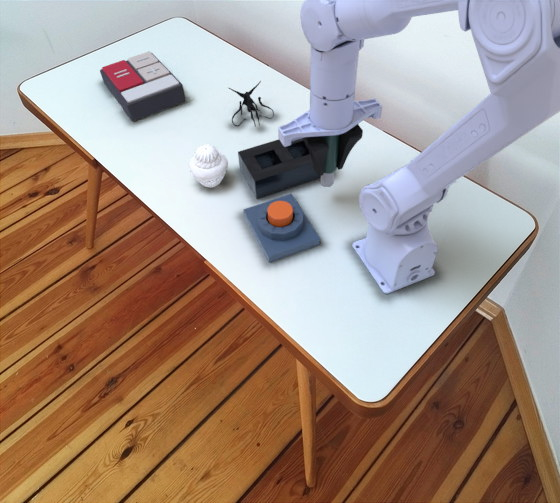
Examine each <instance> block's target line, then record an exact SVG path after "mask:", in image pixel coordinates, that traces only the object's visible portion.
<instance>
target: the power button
mask: <svg viewBox="0 0 560 503" xmlns="http://www.w3.org/2000/svg"><path fill="white" fill-rule="evenodd" d="M267 211H268V221H269V222H270V224H271V225H273V226H275V227H285V226H287V225H289V224H290V223H291V222H292V220H293V208H292V206H291V205H290V204H289V203H288V202H285V201H276V202H273V203H272V204H270V205H269V207H268V210H267Z"/></svg>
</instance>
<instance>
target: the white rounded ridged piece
mask: <svg viewBox="0 0 560 503" xmlns="http://www.w3.org/2000/svg"><path fill="white" fill-rule="evenodd" d="M228 167H229V161H228V158H227V157H226V156H225V153H222V152H221V151H218V149H217V147H216V146H214V145H211V144H202V145H201V146H198V148H196V150H195V152H194V155H192V157H191V158H190V160H189V162H188V169H189V172H190V174H191V175H192V176H193V178H194V179H195V180H196V181H197V182H198V183H200V184H201V185H202V186H203V187H205V188H209V189H210V188H211V189H212V188H216V187H217V186H219V185H220V184H222V183H221V182H222V181H223V180H224V177H225V176H226V174H227V171H228Z"/></svg>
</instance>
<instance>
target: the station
mask: <svg viewBox="0 0 560 503" xmlns="http://www.w3.org/2000/svg"><path fill="white" fill-rule="evenodd" d="M276 201H285V202H288V203H289V204H290V205H291V206H292V208H293V220H292V222H291V223H290V224H289V225H287V226H285V227H275V226H273V225H271V224H270V222H269V221H268V211H267V210H268V207H269V205H270V204H272V203H273V202H276ZM242 210H243V217H244V219H245V221H246V222H247V224H248V226H249V228H250V230H251V231H252V233H253V235H254V237H255V239H256V241H257V243H258V245H259V247H260V249H261V250H262V252H263V254H264V257H265V258H266V260H267V262H268V263H273V262H275V261H278V260H281V259H285V258H287V257H290V256H292V255H295V254H298V253H300V252H303V251H305V250H308V249H311V248H315V247H317V246H320V244H321V243H320V242H321V238H320V236H319V235H318V233H317V232H316V230H315V228H314V227H313V225H312V224H311V222H310V221H309V219H308V217H307V216H306V214H305V213H304V211H303V209H302V208H301V206H300V205H299V203H298V201H297V200H296V199H295V197H294V195H293V193H289V194H286V195H282V196H280V197H277V198H274V199H271V200H268V201H265V202H262V203H259V204H255V205H253V206H249V207H246V208H244V209H242Z"/></svg>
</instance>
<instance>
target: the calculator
mask: <svg viewBox="0 0 560 503" xmlns="http://www.w3.org/2000/svg"><path fill="white" fill-rule="evenodd" d="M99 73H100V77H101V79H102V82H103V85H105V87H106V88H107V89H108V91H109V92H110V94H111V95H112V96H113V97H114V99H115V100H116V102H117V103H118V104H119V106H121V108H122V110H123V112H124V113H125V114H126V116H127V117H128V118H129V120H130V121H131V122H136V121H139V120H141V119H144V118H147V117H149V116H151V115H155V114H157V113H159V112H163V111H165V110H168V109H170V108H173V107H176V106H178V105H181V104H183V103H185V102H187V99H186V94H185V90H184V86H183V85H184V84H183V83H182V82H181V81H180V80H179V79H178V78H177V76H175V75H174V74H173V73H172V72H171V71H170V69H168V68H167V67H166V66H165V64H163V62H161V60H159V58H158V57H157V56H156V55H155V54H154V53H152V52H151V51H146V52H143V53H139V54H137V55H133V56H131V57H128V58H127V60H125V59H123V60H119V61H117V62H113V63H110V64H108V65H105V66H102V67H101V69H99Z"/></svg>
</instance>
